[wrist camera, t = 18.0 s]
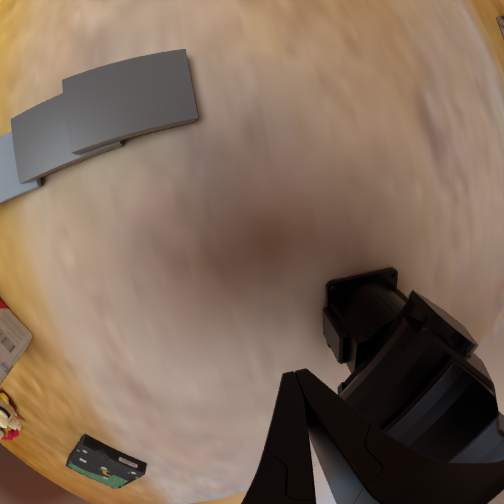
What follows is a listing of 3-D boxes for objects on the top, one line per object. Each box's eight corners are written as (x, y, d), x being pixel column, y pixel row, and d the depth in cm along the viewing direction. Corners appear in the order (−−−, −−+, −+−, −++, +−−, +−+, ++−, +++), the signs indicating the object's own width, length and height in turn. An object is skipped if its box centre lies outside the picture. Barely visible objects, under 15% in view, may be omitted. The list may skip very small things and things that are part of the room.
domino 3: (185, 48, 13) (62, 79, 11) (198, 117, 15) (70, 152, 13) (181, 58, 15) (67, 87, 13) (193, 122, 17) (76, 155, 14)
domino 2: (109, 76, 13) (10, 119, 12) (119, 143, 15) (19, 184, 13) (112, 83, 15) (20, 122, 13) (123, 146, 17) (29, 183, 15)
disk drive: (84, 429, 27) (68, 455, 30) (79, 443, 24) (64, 466, 27) (148, 459, 30) (119, 480, 33) (146, 474, 27) (117, 491, 30)
